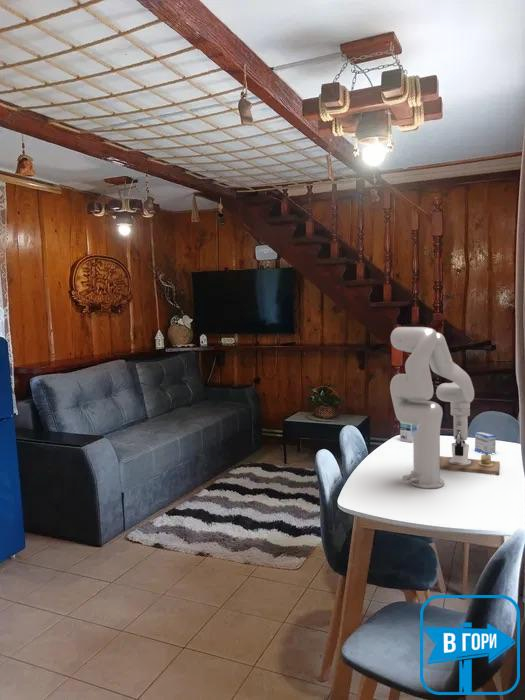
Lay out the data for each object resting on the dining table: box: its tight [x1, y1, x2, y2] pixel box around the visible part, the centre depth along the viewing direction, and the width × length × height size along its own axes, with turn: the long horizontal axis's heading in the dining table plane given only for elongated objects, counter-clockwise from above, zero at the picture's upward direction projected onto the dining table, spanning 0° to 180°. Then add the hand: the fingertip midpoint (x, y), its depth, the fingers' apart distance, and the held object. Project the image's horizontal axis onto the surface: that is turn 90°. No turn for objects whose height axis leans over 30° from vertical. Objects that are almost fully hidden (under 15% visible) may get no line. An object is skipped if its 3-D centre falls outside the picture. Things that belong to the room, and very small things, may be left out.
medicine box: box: [474, 431, 497, 455], centre depth 238 cm, size 8×4×9 cm, turn 25°
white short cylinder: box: [451, 442, 470, 463], centre depth 219 cm, size 7×7×7 cm
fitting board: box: [440, 454, 501, 476], centre depth 218 cm, size 24×14×5 cm, turn 65°
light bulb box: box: [399, 421, 420, 444], centre depth 264 cm, size 11×7×11 cm, turn 137°
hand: (460, 452), depth 219 cm, fingers open, 8 cm apart
